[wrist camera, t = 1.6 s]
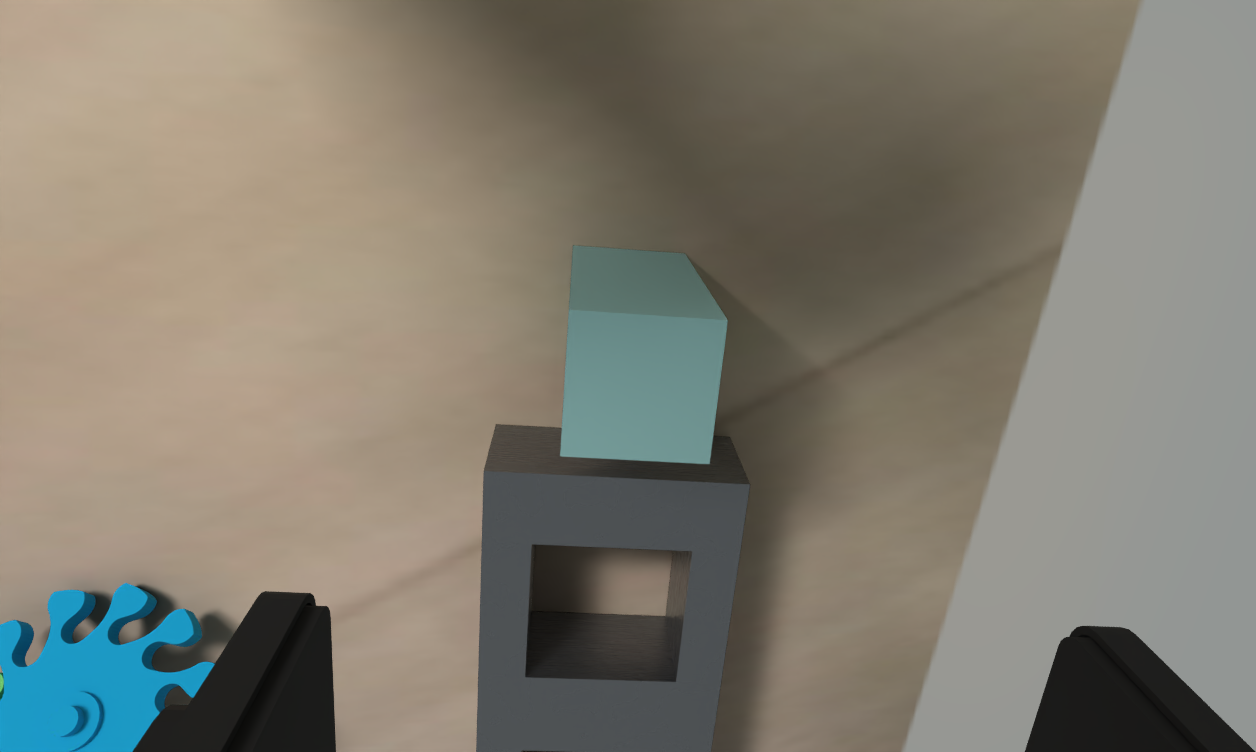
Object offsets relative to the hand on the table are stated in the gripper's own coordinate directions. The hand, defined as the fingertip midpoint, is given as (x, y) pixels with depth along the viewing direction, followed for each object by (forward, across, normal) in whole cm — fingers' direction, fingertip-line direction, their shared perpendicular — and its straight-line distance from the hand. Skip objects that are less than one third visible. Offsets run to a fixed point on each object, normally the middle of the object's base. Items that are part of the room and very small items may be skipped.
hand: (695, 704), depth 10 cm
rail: (+20, 0, +15) cm, 25 cm away
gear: (+20, +19, +16) cm, 33 cm away
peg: (+20, 0, 0) cm, 20 cm away
